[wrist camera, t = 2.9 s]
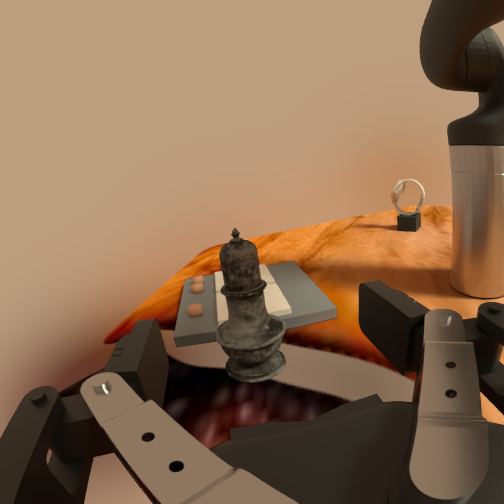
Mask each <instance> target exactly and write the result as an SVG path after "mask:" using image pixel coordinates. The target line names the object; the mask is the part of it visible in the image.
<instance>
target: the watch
mask: <svg viewBox="0 0 504 504" xmlns="http://www.w3.org/2000/svg"><path fill="white" fill-rule="evenodd" d="M407 181H411V182H413V183H415V184H417V185H418V186H419V188H420V189H421V191H422V194H421V199H420V202H419V205H418V207H417V208H416V211H415V212H413V213H411V212H405V211H402V209H400V208H399V206H398V205H397V201H398V199H399V198H400V196H401V194H402V193H403V191H404V188H405V183H406V182H407ZM391 199H392V204H393V206H394V208H395V209H396V210H397V211H398V212H399V213H400V215H399V216H397V223H398V231H413V232H416V231H417V230H418V229H419V228H420V227H421V213H418V212H419V211H420V209H421V208H422V206H423V204H424V201H425V191H424V188H423V187H422V185H421V184H420V183H419V182H418V181H416V180H413V179H405V180H403V181H402V180H400V181H399V182H398V183H397V184H396V186H395V188H394V190H393V192H392V194H391ZM416 212H417V213H416Z"/></svg>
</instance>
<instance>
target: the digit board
mask: <svg viewBox="0 0 504 504" xmlns="http://www.w3.org/2000/svg"><path fill="white" fill-rule="evenodd" d="M259 268H260V275H261V279H262V280H264V281H265V282H266V283H267V286H266V288H265V289H264V298H265V306H266V309H267V312H268V314H272V315H275V316H277V317H279V318H281V319H282V320H283V321H284V322H285V325H286V329H289V328H293V327H298V326H303V325H308V324H312V323H317V322H321V321H326V320H330V319H334V318H337V307H336V306H335V305H334V304H333V303H332V302H331V301H330V300H329V299H328V297H327V296H326V295H325V294H324V293H323V292H322V291H321V290H320V289H319V288H318V287H317V286H316V284H315V283H314V282H313V281H312V280H311V279H310V278H309V277H308V276H307V275H306V274H305V273H304V271H303V270H302V269H301V268H300V267H299V266H298V265H297V264H296V263H295V262H294V261H291V262H285V263H279V264H273V265H268V266H266V265H265V264H262V265H259ZM223 285H224V280H223V274H222V271H220V272H215V274H214V275H207V276H201V275H199V276H194V277H193V278H189V279H185V283H184V288H183V293H182V297H181V302H180V307H179V312H178V317H177V322H176V327H175V332H174V341H175V344H176V347H182V346H189V345H196V344H203V343H210V342H216V338H215V332H216V330H217V328H218V327H219V326H220V325H221V324H222V323H223V322H225V321H227V320H228V308H227V303H226V297H225V296H224V295H223V294H221V291H220V290H221V288H222V286H223Z"/></svg>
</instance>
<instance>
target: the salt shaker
mask: <svg viewBox="0 0 504 504" xmlns="http://www.w3.org/2000/svg"><path fill="white" fill-rule="evenodd" d="M239 234H240V233H239V232H238V230H236V228H234V230H233V231H232V234H231V235H232V236H233V239H232V240H230V242H228V243H226V244H225V245H224V246H223V247H222V248H221V250H220V255H219V256H220V262H221V268H222V274H223V280H224V285H223V286H222V288H221V290H220V291H221V294H223V295H224V296H225V297H226V303H227V308H228V320H227V321H225V322H223V323H222V324H221V325H220V326H219V327H218V328H217V330H216V332H215V338H216V341H217V342H218V343H219V344H220V345H221V347H222V349H223V350H224V351H225V353H226V354H227V355H228V356H229V357H230V358H229V359H228V361H227V363H226V371H227V373H228V374H229V375H230V377H232V378H234V379H236V380H238V381H242V382H261V381H264V380H268V379H270V378H272V377H274V376H276V375H277V374H279V373H280V372H281V371H282V370H283V368H284V367H285V364H286V360H285V356H284V355H283V353H282V352H280V351H279V348H280V345H281V342H282V339H283V334H284V333H285V330H286V325H285V322H284V321H283V320H282V319H281V318H279V317H277V316H275V315H272V314H268V312H267V309H266V306H265V298H264V289H265V288H266V286H267V283H266V282H265V281H264V280H262V279H261V275H260V268H259V260H258V252H257V248H256V246H255V245H254V244H253V243H252V242H250V241H248V240H243V239H242V238H239Z"/></svg>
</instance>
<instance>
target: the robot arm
mask: <svg viewBox="0 0 504 504" xmlns="http://www.w3.org/2000/svg"><path fill="white" fill-rule="evenodd" d="M503 20H504V0H432V2H431V5H430V8H429V10H428V13H427V16H426V18H425V21H424V24H423V27H422V31H421V36H420V59H421V64H422V67H423V70H424V73H425V74H426V76H427V78H428V79H429V80H430V81H431V82H432V83H433V84H434V85H436V86H437V87H440V88H443V89H447V90H453V91H467V92H478V95H479V107H478V109H477V110H475V111H474V112H473V113H472V114H470V115H468V116H466V117H463V118H460V119H457V120H455V121H452V122H451V123H450V124H449V125H448V129H447V133H448V142H449V145H450V146H449V152H450V163H451V177H452V202H453V233H452V258H451V273H450V284H451V285H452V286H453V287H454V288H455V289H456V290H458V291H459V292H462V293H464V294H467V295H470V296H475V297H481V298H494V297H500V296H503V295H504V47H503V45H502V43H501V41H500V39H499V37H498V36H497V34H496V33H495V32H494V31H493V30H492V29H491V28H489V27H490V26H492V25H494V24H496V23H499V22H500V21H503ZM359 325H360V328H361V331H362V332H363V334H364V335H365V336H366V337H367V338H368V339H369V340H370V341H371V342H372V343H373V344H374V345H375V346H376V348H377V349H378V350H379V351H380V352H381V353H382V354H383V355H384V356H385V357H386V358H387V359H388V360H389V362H390V363H391V364H392V365H393V366H394V367H395V368H396V369H397V370H398V371H399V372H400V373H401V375H402V376H405V375H408V374H410V373H413V372H416V378H415V385H414V392H413V398H412V402H403V401H392V402H383V401H382V400H381V399H380V397H379V396H378V395H377V394H374V395H371V396H368V397H366V398H362V399H359V400H356V401H353V402H349V403H346V404H343V405H341V406H339V407H337V408H335V409H333V410H331V411H329V412H327V413H325V414H323V415H321V416H319V417H317V418H315V419H312V420H309V421H297V422H268V423H262V424H257V425H251V426H245V427H239V428H232V429H230V434H231V440H228V441H225V442H223V443H221V444H219V445H216V446H215V447H213V448H211V449H207V448H206V447H205V446H204V445H202V444H201V443H200V442H199V441H198V440H196V439H195V438H194V437H193V436H192V435H190V434H189V433H188V432H187V431H186V430H185V429H183V428H182V427H181V426H180V425H179V424H178V423H177V422H175V421H174V420H173V419H172V418H171V417H170V416H169V415H168V414H167V413H166V412H164V411H163V410H162V406H163V400H164V393H165V387H166V381H167V375H168V370H169V363H168V356H167V352H166V349H165V346H164V342H163V339H162V335H161V331H160V328H159V324H158V322H157V320H156V319H148V320H140V321H137V322H136V324H135V326H134V328H133V330H132V332H131V334H126V335H125V336H124V337H123V338H121V339H120V340H119V341H118V342H117V344H116V346H115V348H114V351H113V353H112V355H111V357H110V359H109V361H108V363H107V365H106V367H105V369H104V371H103V373H100V374H97V375H94V376H92V377H90V378H89V379H87V380H86V381H85V382H84V383H83V385H82V386H81V394H78V395H73V396H69V397H64V398H60V396H59V394H58V392H57V390H56V389H55V388H53V387H50V386H43V387H39V388H36V389H34V390H32V391H30V392H29V393H27V394H26V395H25V396H24V398H23V399H22V401H21V403H20V404H19V406H18V408H17V410H16V411H15V413H14V415H13V416H12V418H11V420H10V422H9V424H8V425H7V427H6V429H5V431H4V433H3V435H2V436H1V438H0V504H84V500H85V495H86V490H87V485H88V480H89V476H90V471H91V467H92V462H93V457H96V456H101V455H106V454H110V453H115V454H116V456H117V457H118V458H119V460H120V461H121V463H122V464H123V466H124V467H125V468H126V470H127V471H128V472H129V474H130V475H131V476H132V478H133V479H134V480H135V481H136V483H137V484H138V485H139V487H140V488H141V489H142V490H143V492H144V493H145V494H146V495H147V497H148V498H149V499H150V501H151V502H152V503H153V504H504V425H501V424H497V423H492V422H487V420H486V419H485V418H483V417H482V410H481V398H480V392H481V393H482V394H483V395H484V396H485V397H486V398H487V399H488V400H489V401H490V402H491V403H492V404H493V405H494V406H495V407H496V408H497V409H498V410H499V411H500V412H501V413H502V414H503V415H504V365H503V364H502V363H501V362H500V361H499V360H500V357H501V353H502V350H503V346H504V304H501V303H496V302H487V303H483V304H481V305H480V306H479V308H478V313H477V318H471V319H464V320H463V319H462V316H461V315H460V314H459V313H457V312H455V311H453V310H449V309H435V310H429V309H428V308H426V307H425V306H423V305H422V304H420V303H419V302H417V301H415V300H414V299H412V298H411V297H409V296H408V295H406V294H405V293H403V292H402V291H399V290H395V289H392V288H390V287H389V286H387V285H386V284H384V283H383V282H381V281H380V280H374V281H369V282H365V283H361V284H360V286H359ZM49 448H50V449H51V451H52V455H51V458H50V461H49V463H48V465H47V461H46V457H47V452H48V450H49Z"/></svg>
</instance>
